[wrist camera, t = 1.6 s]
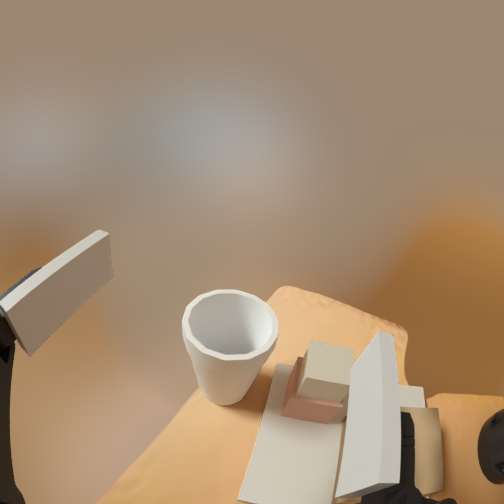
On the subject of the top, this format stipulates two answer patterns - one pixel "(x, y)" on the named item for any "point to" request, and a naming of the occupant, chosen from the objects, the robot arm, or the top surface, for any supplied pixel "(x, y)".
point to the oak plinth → (425, 453)
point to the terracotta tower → (318, 383)
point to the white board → (299, 450)
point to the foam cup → (228, 342)
